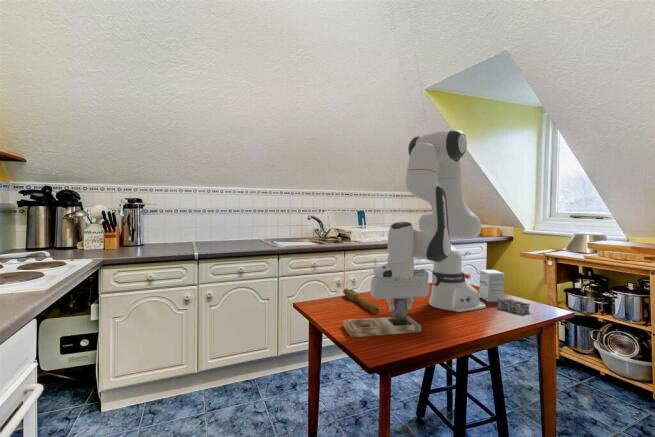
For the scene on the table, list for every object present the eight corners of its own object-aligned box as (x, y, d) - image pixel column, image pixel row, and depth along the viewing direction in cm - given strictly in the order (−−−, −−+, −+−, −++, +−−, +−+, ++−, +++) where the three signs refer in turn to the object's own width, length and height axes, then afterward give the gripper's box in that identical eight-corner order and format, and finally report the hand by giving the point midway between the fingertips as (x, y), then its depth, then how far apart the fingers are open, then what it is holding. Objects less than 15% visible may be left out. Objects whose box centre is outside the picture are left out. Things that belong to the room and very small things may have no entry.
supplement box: (478, 297, 154) (479, 269, 153) (494, 296, 154) (495, 269, 154) (487, 302, 146) (488, 273, 146) (503, 301, 147) (504, 272, 146)
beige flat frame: (408, 321, 122) (408, 315, 122) (421, 331, 113) (421, 325, 112) (343, 325, 118) (343, 319, 118) (351, 337, 108) (351, 330, 108)
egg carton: (495, 308, 139) (495, 298, 139) (506, 305, 143) (507, 295, 143) (520, 315, 130) (520, 305, 130) (532, 312, 133) (532, 302, 133)
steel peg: (402, 324, 119) (403, 296, 118) (408, 329, 115) (408, 300, 114) (391, 325, 118) (391, 297, 118) (395, 330, 114) (396, 301, 113)
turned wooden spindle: (372, 307, 130) (342, 287, 158) (372, 315, 130) (342, 294, 158) (379, 306, 131) (348, 287, 159) (379, 314, 131) (348, 293, 159)
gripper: (424, 267, 120) (423, 305, 121) (369, 269, 117) (368, 308, 117) (433, 270, 114) (432, 311, 115) (375, 273, 110) (374, 314, 111)
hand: (399, 310), depth 116 cm, fingers closed on steel peg, 4 cm apart
